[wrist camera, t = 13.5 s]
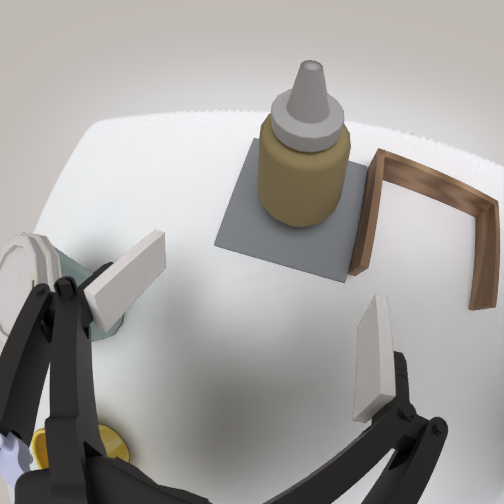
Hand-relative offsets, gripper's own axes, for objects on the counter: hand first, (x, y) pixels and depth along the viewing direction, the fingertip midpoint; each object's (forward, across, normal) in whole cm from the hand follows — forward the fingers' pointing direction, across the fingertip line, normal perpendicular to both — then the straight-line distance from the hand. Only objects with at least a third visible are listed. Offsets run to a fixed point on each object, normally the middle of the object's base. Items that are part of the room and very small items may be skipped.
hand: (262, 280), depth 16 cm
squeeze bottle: (+16, 0, -1) cm, 16 cm away
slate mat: (+16, 0, -1) cm, 16 cm away
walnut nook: (+16, +16, -1) cm, 22 cm away
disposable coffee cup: (+3, -18, -14) cm, 23 cm away
